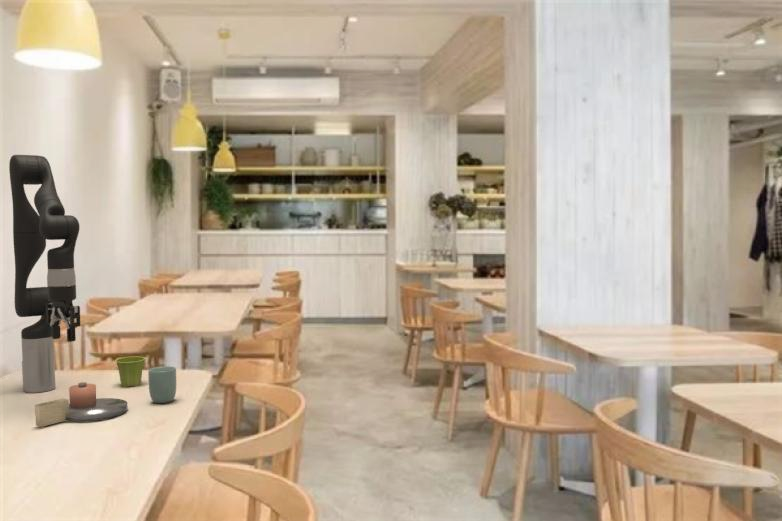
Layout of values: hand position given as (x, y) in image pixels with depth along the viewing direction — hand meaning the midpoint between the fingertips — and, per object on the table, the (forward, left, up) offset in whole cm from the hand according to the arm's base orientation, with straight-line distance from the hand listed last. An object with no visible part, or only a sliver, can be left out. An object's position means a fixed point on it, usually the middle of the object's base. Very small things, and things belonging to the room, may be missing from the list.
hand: (63, 339), depth 206 cm
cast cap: (+9, 0, -18) cm, 20 cm away
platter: (+14, -4, -19) cm, 24 cm away
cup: (+20, +19, -20) cm, 34 cm away
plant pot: (-7, +27, -20) cm, 34 cm away
